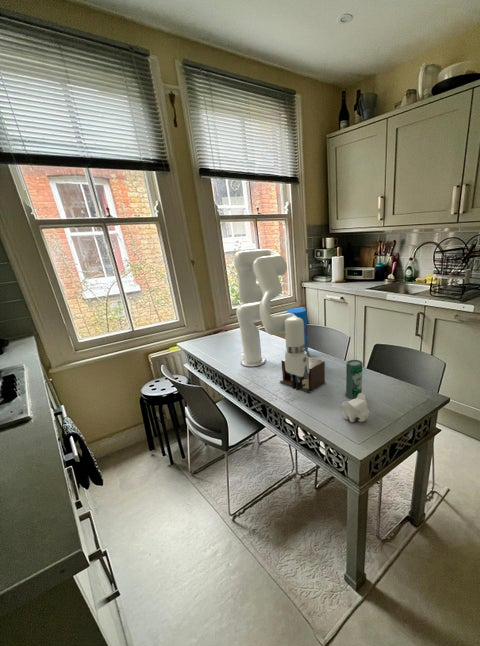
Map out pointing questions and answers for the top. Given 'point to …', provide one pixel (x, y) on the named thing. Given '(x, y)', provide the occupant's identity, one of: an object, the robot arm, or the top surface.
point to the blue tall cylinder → (303, 315)
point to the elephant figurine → (356, 409)
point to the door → (304, 383)
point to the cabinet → (314, 374)
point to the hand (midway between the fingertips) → (297, 388)
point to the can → (353, 378)
